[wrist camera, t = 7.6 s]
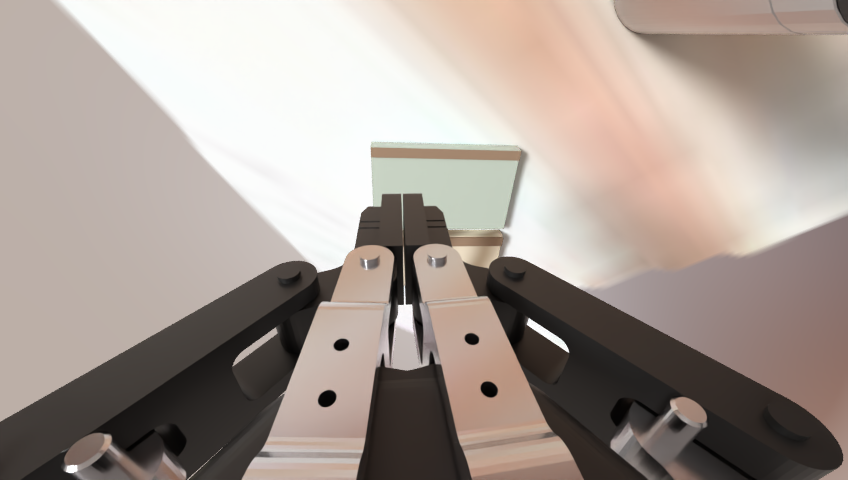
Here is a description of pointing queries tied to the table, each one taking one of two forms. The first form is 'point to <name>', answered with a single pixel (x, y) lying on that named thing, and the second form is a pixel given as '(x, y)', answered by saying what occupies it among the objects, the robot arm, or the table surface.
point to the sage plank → (449, 179)
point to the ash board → (475, 246)
